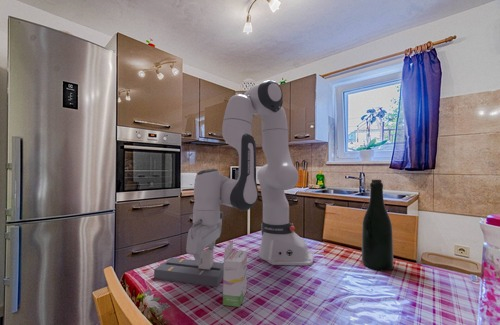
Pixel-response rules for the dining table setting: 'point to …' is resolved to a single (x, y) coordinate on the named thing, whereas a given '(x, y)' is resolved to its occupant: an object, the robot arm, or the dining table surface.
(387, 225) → the beer bottle
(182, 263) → the slider console
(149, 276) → the dining table surface
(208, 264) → the fader cap
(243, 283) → the ink box
